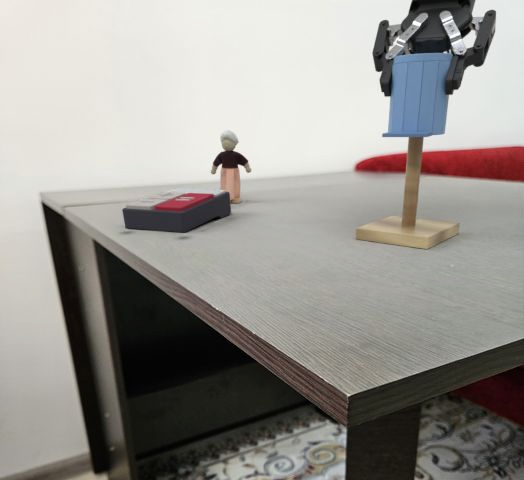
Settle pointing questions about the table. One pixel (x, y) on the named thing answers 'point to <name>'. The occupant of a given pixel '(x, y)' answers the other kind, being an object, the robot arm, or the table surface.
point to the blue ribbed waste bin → (418, 95)
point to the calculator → (177, 209)
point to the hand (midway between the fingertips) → (417, 90)
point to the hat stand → (409, 213)
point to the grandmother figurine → (230, 166)
